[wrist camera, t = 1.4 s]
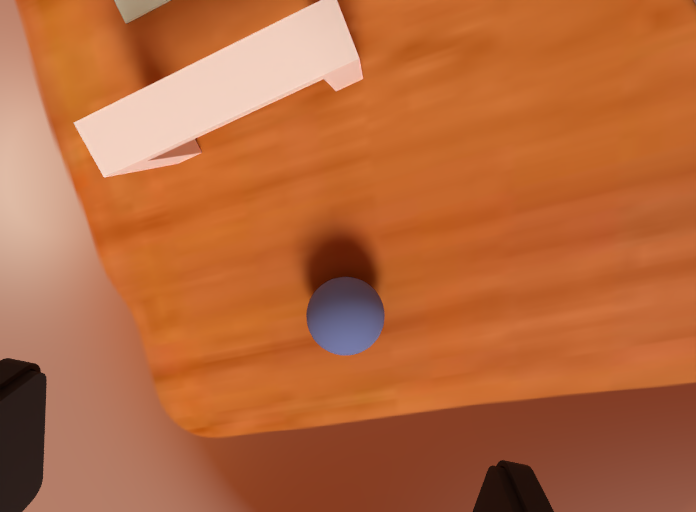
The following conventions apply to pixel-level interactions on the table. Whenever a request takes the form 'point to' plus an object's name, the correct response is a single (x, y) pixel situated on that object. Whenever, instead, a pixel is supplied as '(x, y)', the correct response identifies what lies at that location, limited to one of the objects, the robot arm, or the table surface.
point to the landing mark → (137, 8)
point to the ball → (345, 316)
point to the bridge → (221, 90)
